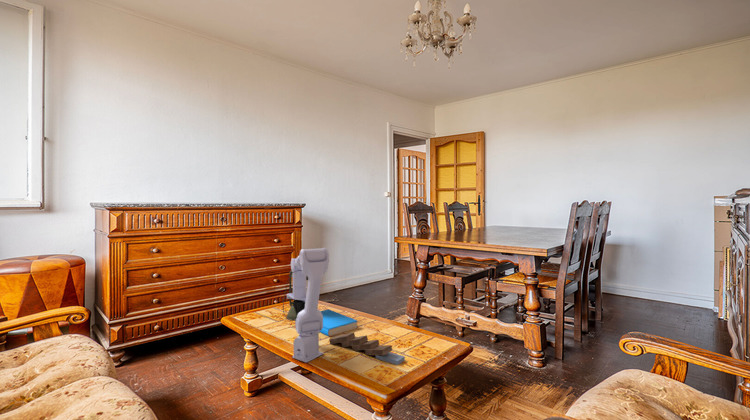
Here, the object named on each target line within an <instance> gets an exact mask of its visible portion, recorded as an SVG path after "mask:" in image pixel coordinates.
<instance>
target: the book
mask: <svg viewBox="0 0 750 420" xmlns="http://www.w3.org/2000/svg"><path fill="white" fill-rule="evenodd" d="M320 311H321V313H322V315H323V328H322V330H320V334H323V335H325V336H327V337H331V336H332V337H333V336H336V335H340V334H342V333H346V332H349V331H351V330H355V329H358V321H359V320H357V319H354V318H352V317H349V316H346V315H345V314H343V313H339V312H336V311H335V310H332V309H328V308H327V309H324V310H320Z"/></svg>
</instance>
